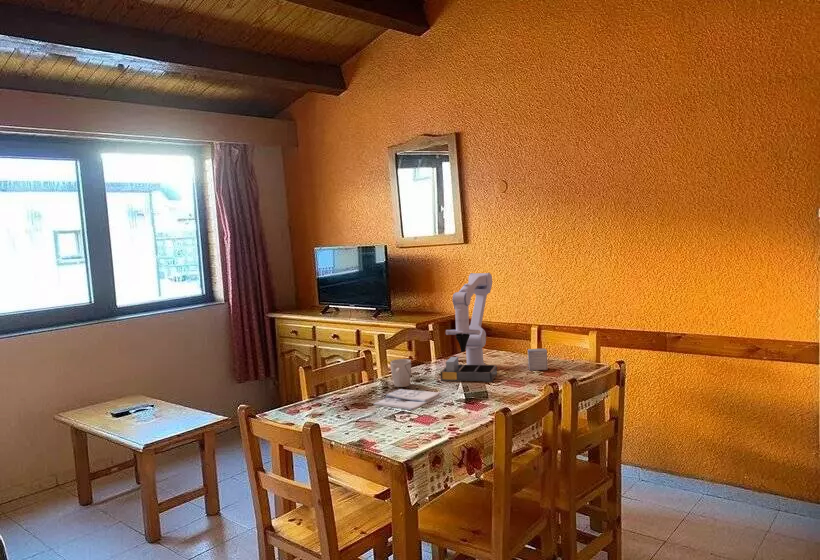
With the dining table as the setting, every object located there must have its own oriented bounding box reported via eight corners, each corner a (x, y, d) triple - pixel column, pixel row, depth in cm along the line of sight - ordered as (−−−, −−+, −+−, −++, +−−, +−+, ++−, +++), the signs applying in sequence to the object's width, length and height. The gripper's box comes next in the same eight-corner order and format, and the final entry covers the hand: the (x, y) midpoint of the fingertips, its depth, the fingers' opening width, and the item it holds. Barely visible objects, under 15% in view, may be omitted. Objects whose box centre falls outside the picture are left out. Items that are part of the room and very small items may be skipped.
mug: (408, 390, 243) (407, 365, 243) (387, 390, 245) (386, 365, 244) (414, 382, 255) (412, 358, 254) (394, 382, 256) (392, 359, 255)
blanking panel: (451, 373, 264) (450, 357, 263) (458, 373, 263) (458, 357, 262) (446, 378, 255) (445, 361, 255) (454, 378, 254) (453, 361, 254)
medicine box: (546, 367, 267) (545, 348, 266) (547, 370, 263) (547, 350, 262) (528, 368, 268) (527, 348, 267) (529, 370, 263) (528, 350, 263)
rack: (448, 372, 267) (448, 364, 267) (496, 373, 261) (496, 365, 261) (440, 381, 254) (440, 372, 254) (491, 382, 248) (491, 373, 248)
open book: (442, 397, 232) (441, 392, 232) (412, 412, 216) (411, 406, 216) (401, 392, 243) (400, 386, 243) (369, 406, 227) (369, 400, 226)
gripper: (443, 321, 260) (444, 352, 261) (477, 321, 256) (478, 353, 257) (447, 319, 267) (448, 350, 268) (480, 319, 263) (481, 350, 264)
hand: (463, 351), depth 263 cm, fingers closed
